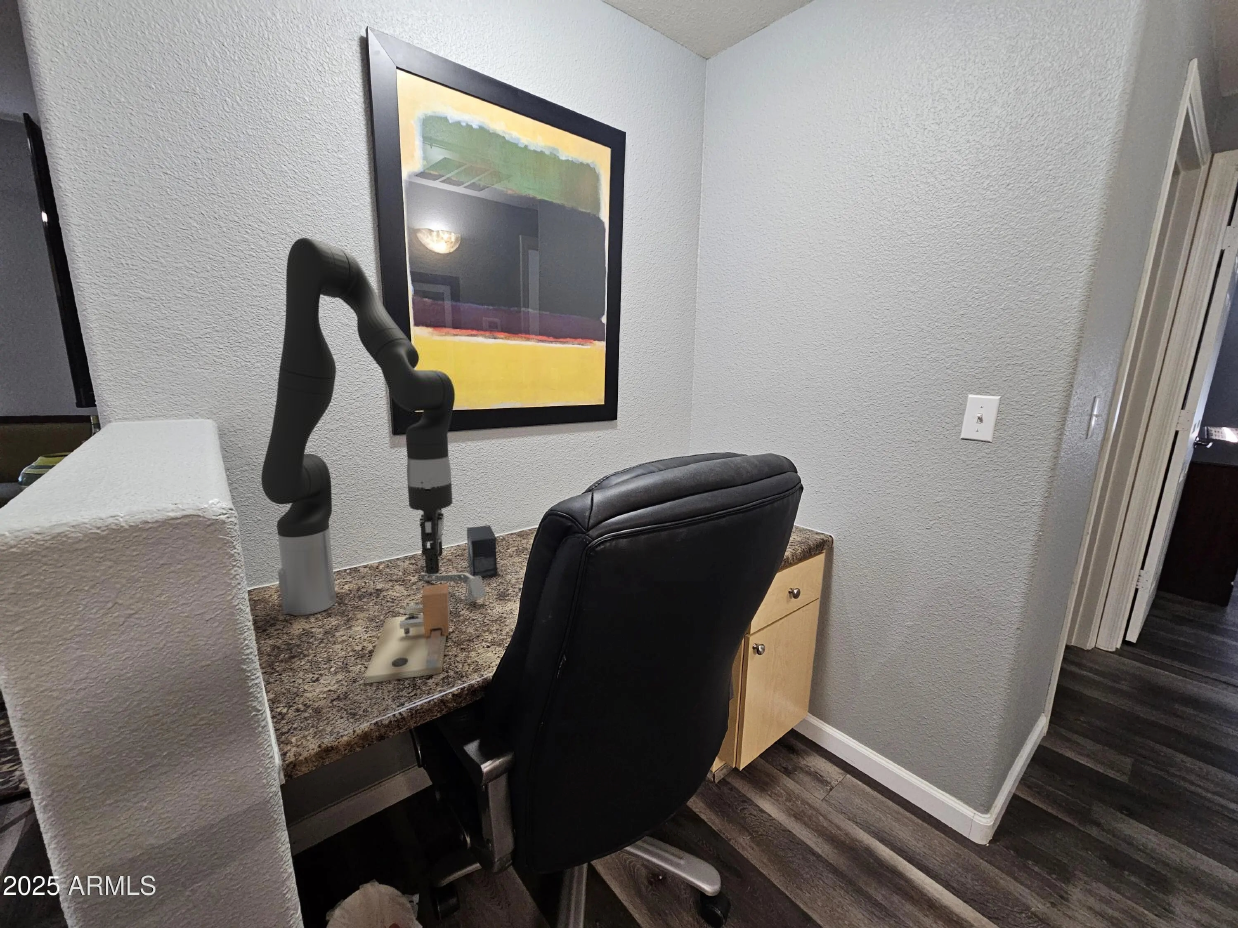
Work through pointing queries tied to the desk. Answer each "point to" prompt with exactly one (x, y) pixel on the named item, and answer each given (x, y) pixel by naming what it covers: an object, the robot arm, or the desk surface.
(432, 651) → the divider beam
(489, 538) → the small box
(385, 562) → the desk surface
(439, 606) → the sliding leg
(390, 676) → the bolt plate
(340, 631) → the desk surface
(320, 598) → the robot arm
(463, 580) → the bracket
